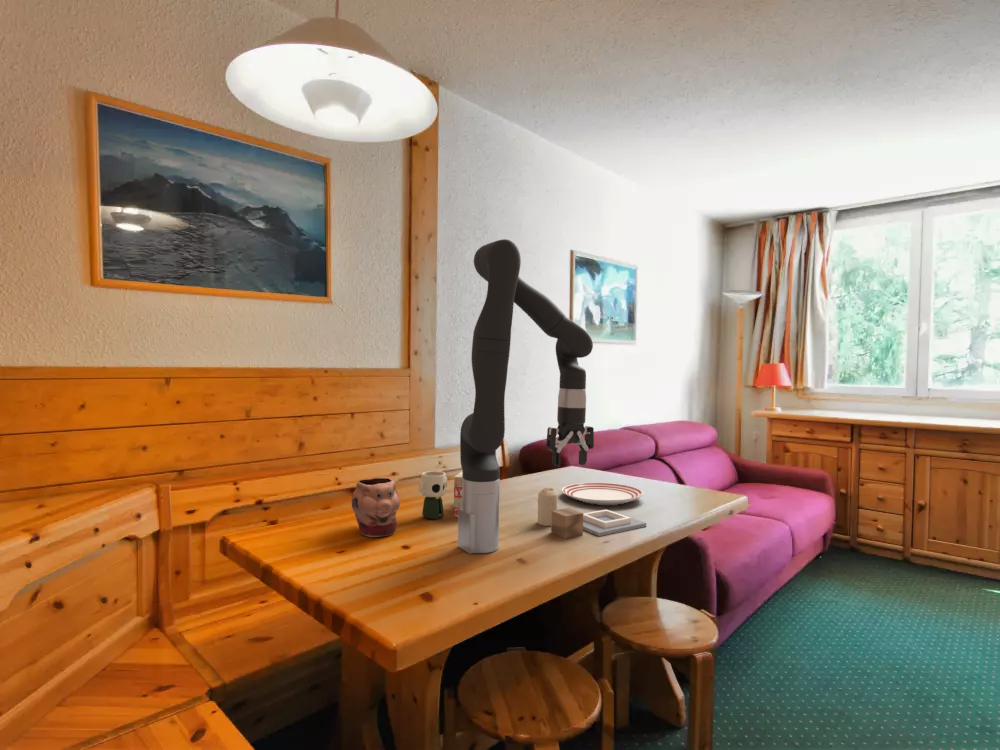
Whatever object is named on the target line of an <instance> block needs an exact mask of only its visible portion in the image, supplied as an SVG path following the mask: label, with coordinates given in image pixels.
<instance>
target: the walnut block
mask: <svg viewBox="0 0 1000 750" xmlns="http://www.w3.org/2000/svg"><path fill="white" fill-rule="evenodd" d="M550 527H551V532H552V533H551V534H554V533H555V534H554V535H556V534H557V535H556V536H558V535H559V536H558V537H560V536H562V537H561V538H563V537H564V538H563V539H565V538H566V539H570V538H569V537H571V538H575V537H574V536H576V537H580V536H579V535H581V536H583V535H584V530H583V512H581V511H578V510H576V509H573V508H570V507H565V508H562V509H557V510H553V511H552V523H551V526H550Z"/></svg>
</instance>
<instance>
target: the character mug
mask: <svg viewBox="0 0 1000 750" xmlns="http://www.w3.org/2000/svg"><path fill="white" fill-rule="evenodd" d="M420 475H421V476H420V479H421V481H419V483H418V492H419V494H421V496H424V500H423V505H422V513H421V514H422V516H423V517H424V518H427V519H429V518H430V519H433V520H434V519H440V518H443V517H444V516H445V513H444V503H443V499H442V498H443V496H445V494H446V493H447V492H446V490H447V487H448V477H447V476H446V472H444V471H439V470H438V471H437V470H431V471H429V470H428V471H424V472H422V473H421V474H420ZM440 516H441V517H440Z"/></svg>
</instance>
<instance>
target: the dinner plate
mask: <svg viewBox="0 0 1000 750" xmlns="http://www.w3.org/2000/svg"><path fill="white" fill-rule="evenodd" d="M561 493H563V494H564V495H566V496H567V497H569V498H571V499H573V500H576V501H578V500H579V502H581V501H582V503H584V502H585V503H584V504H588V503H590V504H589V505H594V504H597V505H596V506H619V505H618V504H621V505H624V503H625V504H626V503H630V502H633V501H635V500H639V499H640V498H642V496H643V495H644V491H643V490H642V489H640V488H638V487H635V486H631V485H627V484H622V483H613V482H597V481H596V482H592V481H591V482H581V483H580V482H578V483H573V484H568V485H566V486H564V487H562V488H561Z"/></svg>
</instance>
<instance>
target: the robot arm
mask: <svg viewBox="0 0 1000 750" xmlns="http://www.w3.org/2000/svg"><path fill="white" fill-rule="evenodd" d="M521 258H522V257H521V253H520V250H519V248H518V246H517V244H515V242H514V241H512V240H510V239H507V238H506V239H498V240H495V241H492V242H489V243H487V244H485V245H482V246H480V247H479V248H478V249H477V250H476V251H475V254H474V257H473V266H474V269H475V270H476V272H477V274H478V275H479V276H480V277H481V278H482V279H483V280H485V281H486V282H487V291H486V297H485V300H484V304H483V306H482V309H481V310H480V314H479V316H478V318H477V321H476V323H475V326H474V330H473V334H472V335H473V336H472V344H471V345H472V346H471V369H472V376H473V382H474V390H475V397H474V407H473V411H472V412H473V413H470V414H468V415H467V416H466V417H465V418H464V420H463V421H462V423H461V427H460V435H459V437H460V438H459V440H460V441H459V443H460V447H459V450H460V451H459V453H460V454H459V456H460V457H459V458H460V465H461V466H460V467H461V471H462V508H459V514H458V517H457V518H458V519H457V521H458V524H457V528H458V530H457V547H458V548H460V549H461V550H463V551H465V552H466V553H468V554H470V555H471V554H487V553H488V554H489V553H493V552H496V551H497V550H498V549H499V541H500V537H499V536H500V533H499V531H500V490H501V489H500V488H501V487H500V485H501V483H500V482H501V481H500V479H501V478H500V477H501V469H500V465H499V463H498V460H497V452H496V451H497V450H498V449H499V448H500V447H501V445H502V443H503V441H504V439H505V433H506V432H505V431H506V427H505V426H506V422H505V421H506V419H505V395H506V387H507V379H508V368H509V359H510V351H511V341H512V340H511V339H512V337H511V336H512V325H513V316H514V315H513V314H514V306H515V305H516V306H517V307H518V308H520V309H521V310H522V311H523V312H524V313H525V314H526V315H527V316H528V317H529V318H530V319H531V320H532V321H533V323H535V325H536V326H538V328H540V330H541V331H542V332H544V334H545V335H546V336H548V337H550V338H554V339H556V342H555V355H556V361H557V366H558V370H559V390H558V394H557V395H558V396H557V415H556V416H557V419H556V420H557V428H556V427H552V426H548V428H547V430H546V431H547V432H546V433H547V434H546V443H545V449H546V450H549V451H551V453H552V456H551V462H552V465H553V466H554V467H555V468H560V466H561V458H562V457H561V454H562V453H561V451H562V450H563V448H564V447H566V446H567V444H570V445H571V444H576V445H577V447H578V448H579V450H578V465H582V466H586V463H587V462H588V451H589V450H591V449H592V450H593V449H594V447H595V445H594V444H595V442H594V441H595V437H594V433H595V432H594V427H593V426H589V425H586V426H585V423H586V413H587V412H586V410H587V392H586V388H587V386H586V385H587V371H586V369H585V368H584V367H581V366H579V362H578V358H579V359H581V358H586V357H587V356H589V355H590V354H591V353H592V350H593V348H594V347H593V346H594V343H593V340H592V337H591V335H590V334H589V332H587V330H586V329H584V328H583V327H581V326H580V325H579V324H577V323H576V322H575V321H573V320H572V319H570V318H569V317H567V316H566V314H564V313H563V311H562V309H560V308H559V307H558V306H557V304H555V303H554V302H553V301H552V300H551V298H549V297H548V296H547V295H545V294H544V293H542V292H540V291H539V290H537V289H536V288H534V287H533V286H531V285H530V284H529V283H527V282H526V281H525V280H523V279H522V278H521V277H520V271H521V270H520V269H521V263H522V262H521V261H522V260H521ZM514 304H515V305H514ZM583 435H584V436H583Z"/></svg>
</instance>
